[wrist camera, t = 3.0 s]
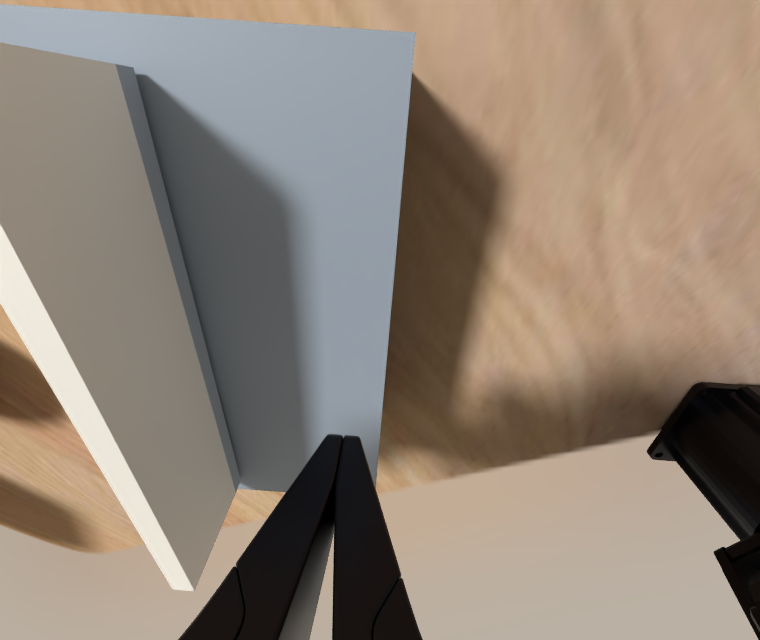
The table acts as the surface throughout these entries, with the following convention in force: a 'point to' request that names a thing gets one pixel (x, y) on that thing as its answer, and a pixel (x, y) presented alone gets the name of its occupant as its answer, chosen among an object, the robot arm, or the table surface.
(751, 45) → the table surface
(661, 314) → the table surface
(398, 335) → the table surface
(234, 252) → the carton
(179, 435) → the l-shaped bar
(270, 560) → the robot arm
